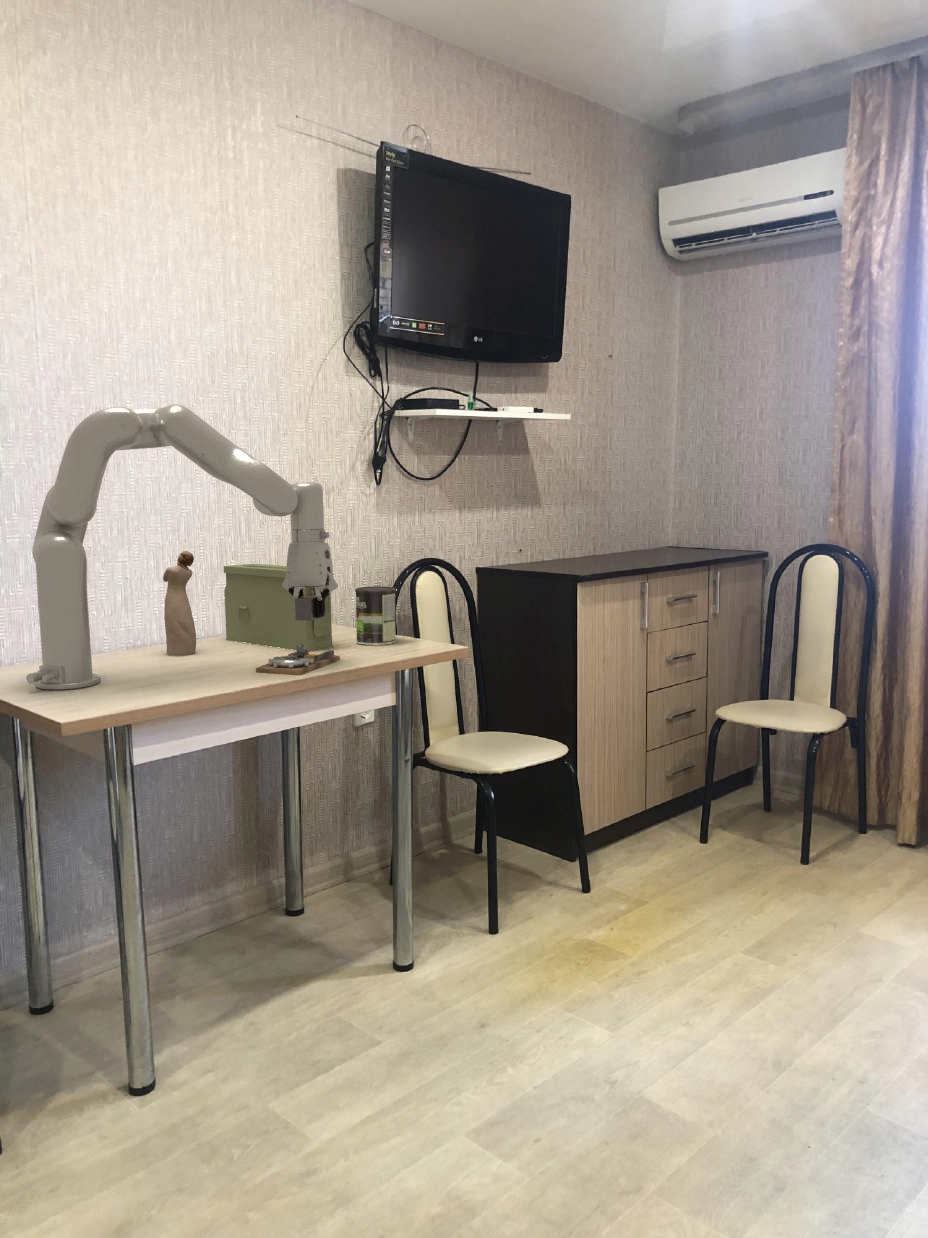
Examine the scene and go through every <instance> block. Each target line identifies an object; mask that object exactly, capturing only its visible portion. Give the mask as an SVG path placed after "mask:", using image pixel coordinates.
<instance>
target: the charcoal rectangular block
mask: <svg viewBox="0 0 928 1238" xmlns="http://www.w3.org/2000/svg"><path fill="white" fill-rule="evenodd" d="M316 600H317V597H316V595H307V596H301V597H298V598H295V613H296V620H306V621H312V620H316V619H319V618H316V616H315V601H316ZM323 617H326V611H325V613H324V616H323ZM320 618H322V617H320Z"/></svg>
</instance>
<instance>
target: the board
mask: <svg viewBox="0 0 928 1238" xmlns="http://www.w3.org/2000/svg"><path fill="white" fill-rule="evenodd" d="M289 655H293V656H297V651H294V652H291V653H288V654H287V656H289ZM304 656H308V657H310V658H313V663H310V664H309V665H307V666H296V667H273V665H269V662H268V663H266V664H262V665H259V666H258V667H255V673H261V674H262V673H264V674H278V675H291V676H292V675H293V676H294V675H295V676H301V675H304V674H308V673H309V671H310V672H312V671H315V670H317V669H319V668H322V667H325V666H328V665H330V664H332V663H335V662H338V661H340V660H341V655H336V654H335V649H334V650H333V649H330V650H327V651H324V652H322V653H319V654H317V653H309V652H308V649H304ZM337 660H338V661H337Z"/></svg>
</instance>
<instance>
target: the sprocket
mask: <svg viewBox="0 0 928 1238" xmlns="http://www.w3.org/2000/svg"><path fill="white" fill-rule="evenodd" d="M296 652H297V656H293V655H289V656H288V655H284V656H283V655H282V656H274V657H273V658H271V659H269V658H268V663H269V665H273V667H296V666H307V665H309V664H310V663H313V658H310V657H308V656H304V645H302V644H300V645H297V650H296Z"/></svg>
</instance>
